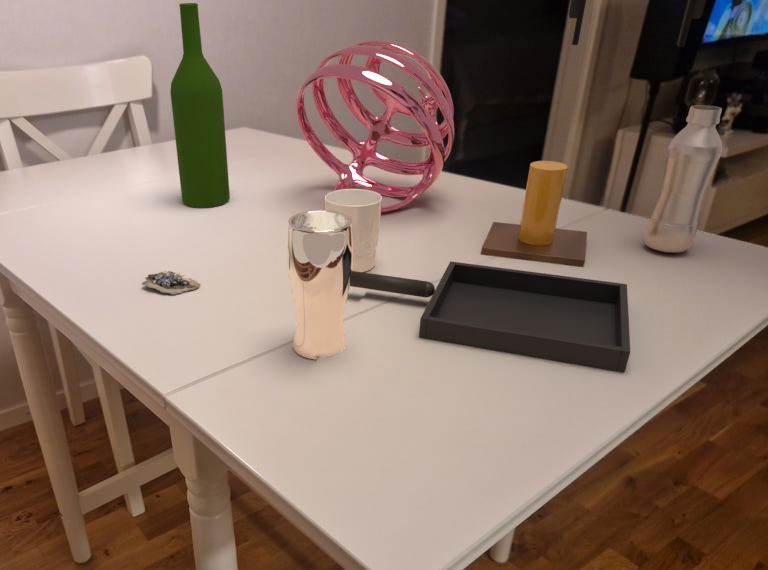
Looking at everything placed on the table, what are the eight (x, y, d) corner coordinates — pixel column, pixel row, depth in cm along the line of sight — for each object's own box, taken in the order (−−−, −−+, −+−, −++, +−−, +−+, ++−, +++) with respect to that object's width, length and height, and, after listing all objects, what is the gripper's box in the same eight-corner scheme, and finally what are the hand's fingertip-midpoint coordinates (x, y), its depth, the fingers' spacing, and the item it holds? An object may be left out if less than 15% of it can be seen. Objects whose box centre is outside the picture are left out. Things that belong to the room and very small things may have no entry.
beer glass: (301, 328, 79) (300, 206, 71) (357, 337, 77) (362, 212, 69) (280, 356, 74) (275, 227, 66) (339, 367, 71) (342, 235, 64)
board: (585, 240, 101) (587, 231, 100) (582, 270, 92) (584, 260, 91) (492, 230, 106) (493, 221, 105) (480, 257, 97) (481, 247, 96)
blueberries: (153, 273, 94) (151, 261, 93) (207, 276, 93) (206, 263, 92) (136, 293, 88) (134, 280, 88) (193, 296, 87) (192, 283, 86)
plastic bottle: (653, 238, 101) (691, 101, 91) (698, 250, 97) (744, 107, 87) (631, 248, 98) (668, 107, 88) (677, 261, 94) (722, 114, 83)
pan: (621, 305, 82) (627, 283, 81) (623, 376, 68) (630, 351, 67) (447, 281, 90) (450, 261, 88) (418, 341, 76) (420, 318, 74)
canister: (554, 235, 99) (568, 162, 94) (551, 247, 95) (566, 171, 90) (519, 232, 101) (531, 159, 95) (516, 243, 97) (528, 168, 91)
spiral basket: (345, 115, 91) (436, -18, 97) (231, 135, 112) (312, 25, 119) (436, 247, 107) (508, 126, 114) (321, 243, 129) (388, 141, 135)
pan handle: (435, 294, 83) (437, 280, 82) (432, 301, 81) (433, 286, 80) (345, 281, 87) (345, 267, 86) (340, 287, 85) (340, 273, 84)
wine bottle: (238, 196, 125) (226, 1, 108) (212, 210, 118) (195, 5, 101) (199, 191, 128) (182, 1, 111) (172, 204, 121) (149, 5, 105)
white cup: (348, 280, 91) (350, 209, 85) (313, 263, 96) (313, 196, 91) (390, 266, 95) (394, 198, 89) (353, 250, 100) (356, 185, 95)
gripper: (559, -139, 83) (531, 46, 94) (792, -156, 75) (731, 49, 86) (563, -132, 89) (536, 40, 100) (779, -148, 81) (724, 43, 92)
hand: (626, 45), depth 93 cm, fingers open, 13 cm apart
